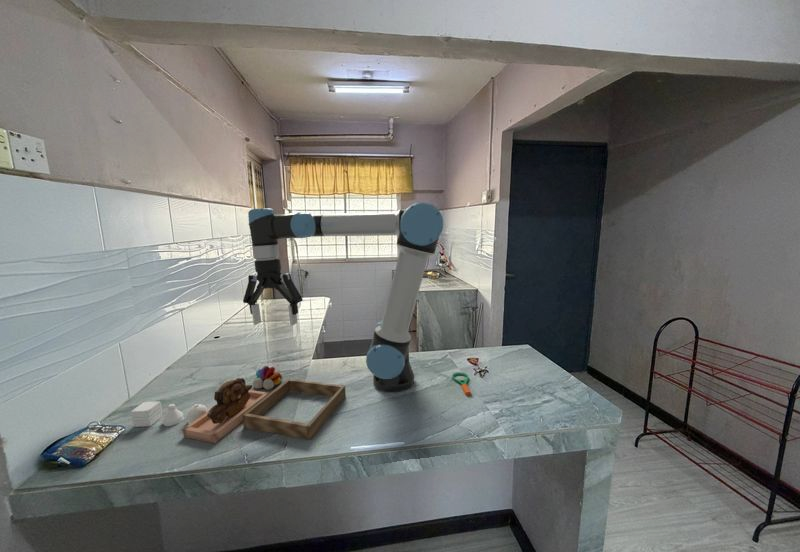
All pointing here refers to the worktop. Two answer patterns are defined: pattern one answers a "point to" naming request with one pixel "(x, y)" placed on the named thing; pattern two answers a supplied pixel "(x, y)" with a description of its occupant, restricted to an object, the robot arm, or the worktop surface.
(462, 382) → the magnifying glass
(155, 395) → the worktop surface
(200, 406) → the container set
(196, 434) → the tray
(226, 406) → the wooden carving
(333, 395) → the frame
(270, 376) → the rainbow ball cluster
